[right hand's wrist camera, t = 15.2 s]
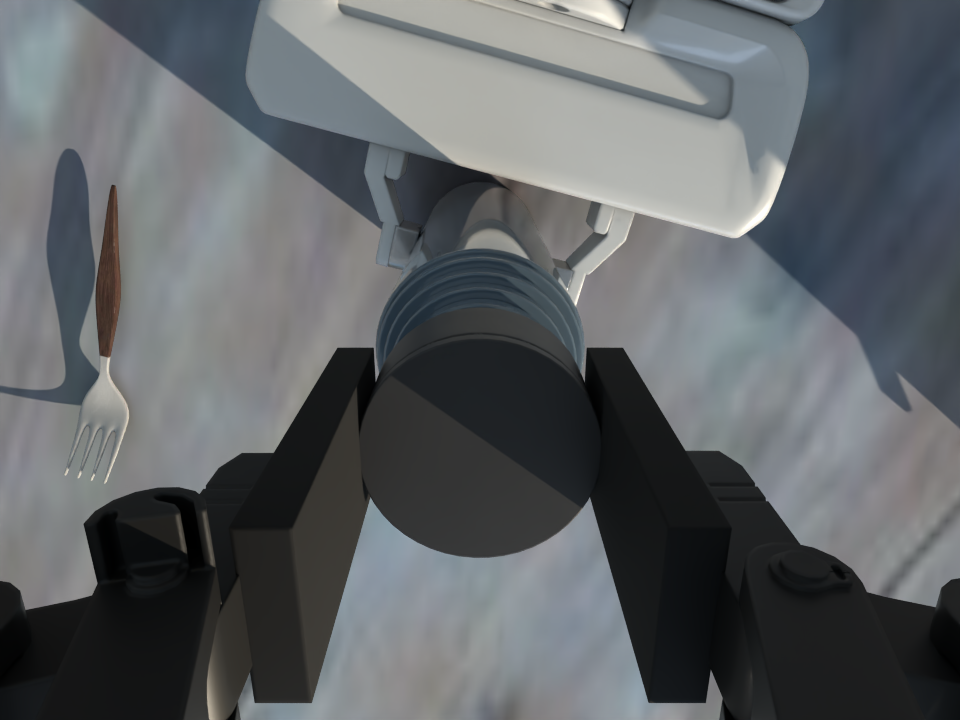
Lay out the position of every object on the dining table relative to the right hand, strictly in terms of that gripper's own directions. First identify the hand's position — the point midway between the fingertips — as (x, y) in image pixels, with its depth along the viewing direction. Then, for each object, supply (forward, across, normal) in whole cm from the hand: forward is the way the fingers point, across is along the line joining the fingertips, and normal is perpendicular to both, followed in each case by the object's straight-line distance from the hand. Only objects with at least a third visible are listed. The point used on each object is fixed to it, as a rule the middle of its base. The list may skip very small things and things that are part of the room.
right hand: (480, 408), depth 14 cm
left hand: (+14, 0, -1) cm, 15 cm away
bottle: (+21, 0, 0) cm, 21 cm away
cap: (-2, 0, 0) cm, 2 cm away
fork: (+21, -20, -5) cm, 29 cm away
